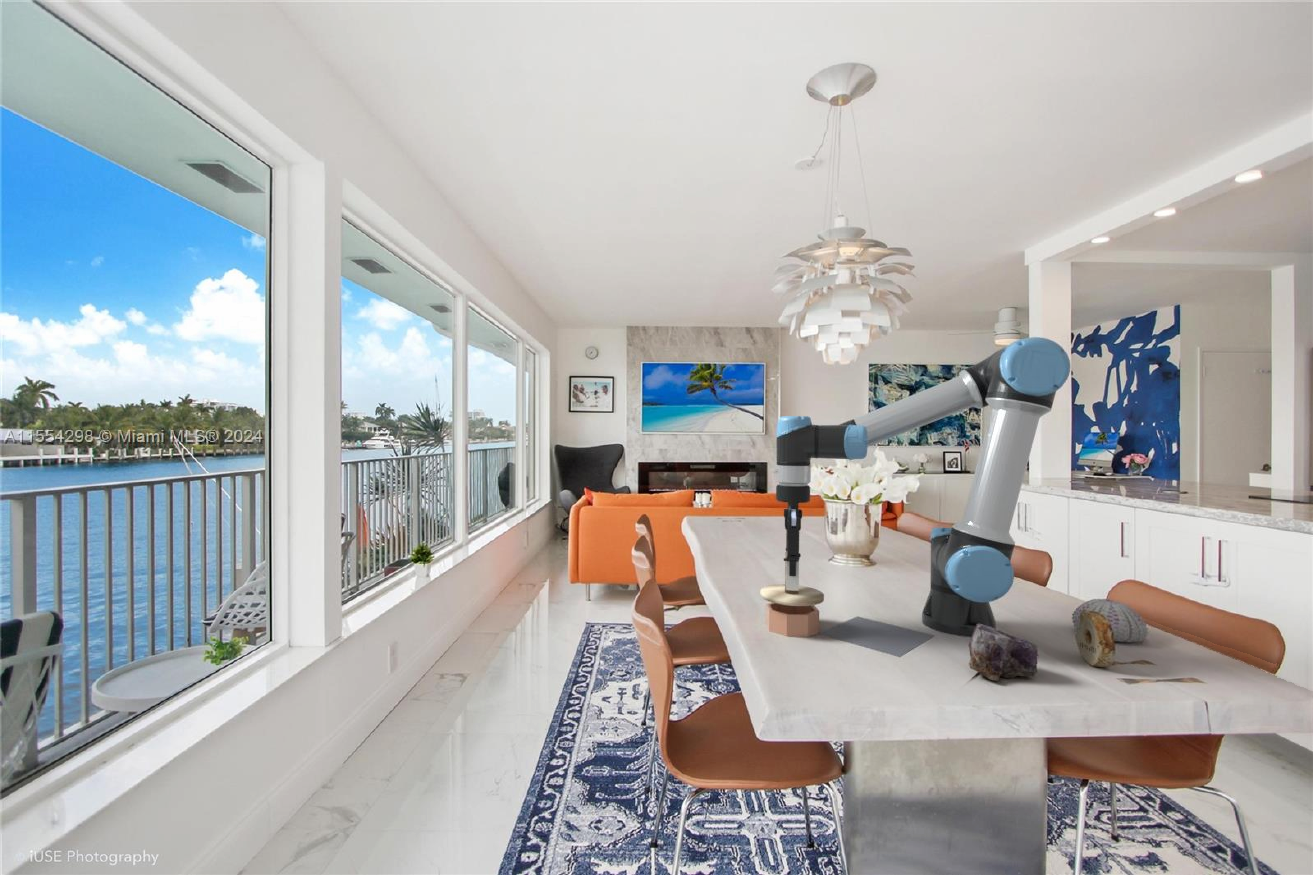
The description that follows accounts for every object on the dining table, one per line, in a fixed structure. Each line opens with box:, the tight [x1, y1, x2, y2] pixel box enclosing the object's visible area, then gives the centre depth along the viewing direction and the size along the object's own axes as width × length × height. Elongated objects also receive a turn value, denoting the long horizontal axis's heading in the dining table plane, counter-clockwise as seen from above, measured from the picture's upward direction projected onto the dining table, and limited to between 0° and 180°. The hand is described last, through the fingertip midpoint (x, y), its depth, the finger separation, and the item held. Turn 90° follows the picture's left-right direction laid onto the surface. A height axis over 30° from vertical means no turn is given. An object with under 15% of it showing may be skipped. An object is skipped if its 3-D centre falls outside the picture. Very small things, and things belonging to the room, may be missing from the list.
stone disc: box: [1074, 611, 1116, 668], centre depth 111 cm, size 10×4×10 cm, turn 163°
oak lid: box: [759, 551, 825, 606], centre depth 129 cm, size 14×14×10 cm
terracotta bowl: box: [765, 602, 820, 638], centre depth 129 cm, size 11×11×5 cm
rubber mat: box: [817, 616, 936, 658], centre depth 125 cm, size 18×18×1 cm
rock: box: [968, 623, 1039, 682], centre depth 106 cm, size 12×9×10 cm
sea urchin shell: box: [1071, 598, 1149, 643], centre depth 127 cm, size 13×14×8 cm
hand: (791, 587), depth 129 cm, fingers closed on oak lid, 3 cm apart
